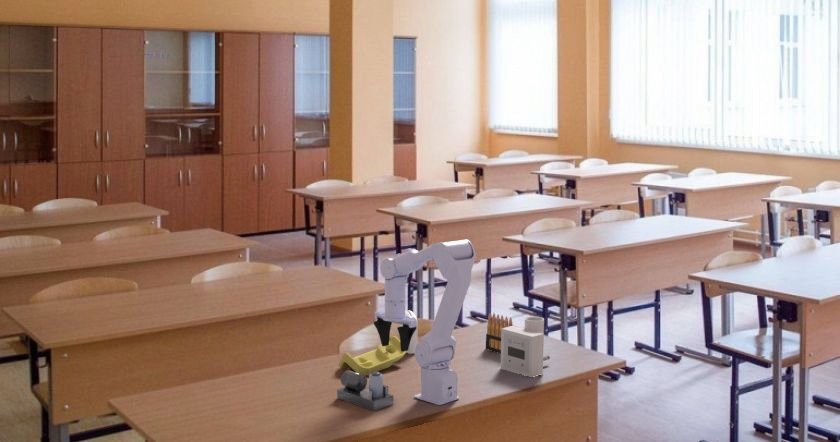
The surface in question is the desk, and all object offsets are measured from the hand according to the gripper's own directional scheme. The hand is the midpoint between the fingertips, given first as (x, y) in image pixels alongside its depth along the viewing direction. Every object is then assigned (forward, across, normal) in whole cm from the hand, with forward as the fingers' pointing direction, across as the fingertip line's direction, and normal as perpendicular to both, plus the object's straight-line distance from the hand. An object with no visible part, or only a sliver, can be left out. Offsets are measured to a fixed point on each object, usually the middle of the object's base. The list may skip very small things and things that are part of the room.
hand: (394, 348), depth 275 cm
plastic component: (+10, -15, +7) cm, 19 cm away
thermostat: (+10, +19, +38) cm, 44 cm away
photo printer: (+10, -21, +27) cm, 36 cm away
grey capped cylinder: (+7, +10, -17) cm, 21 cm away
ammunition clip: (+10, +1, +45) cm, 46 cm away
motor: (+10, +6, -17) cm, 21 cm away
